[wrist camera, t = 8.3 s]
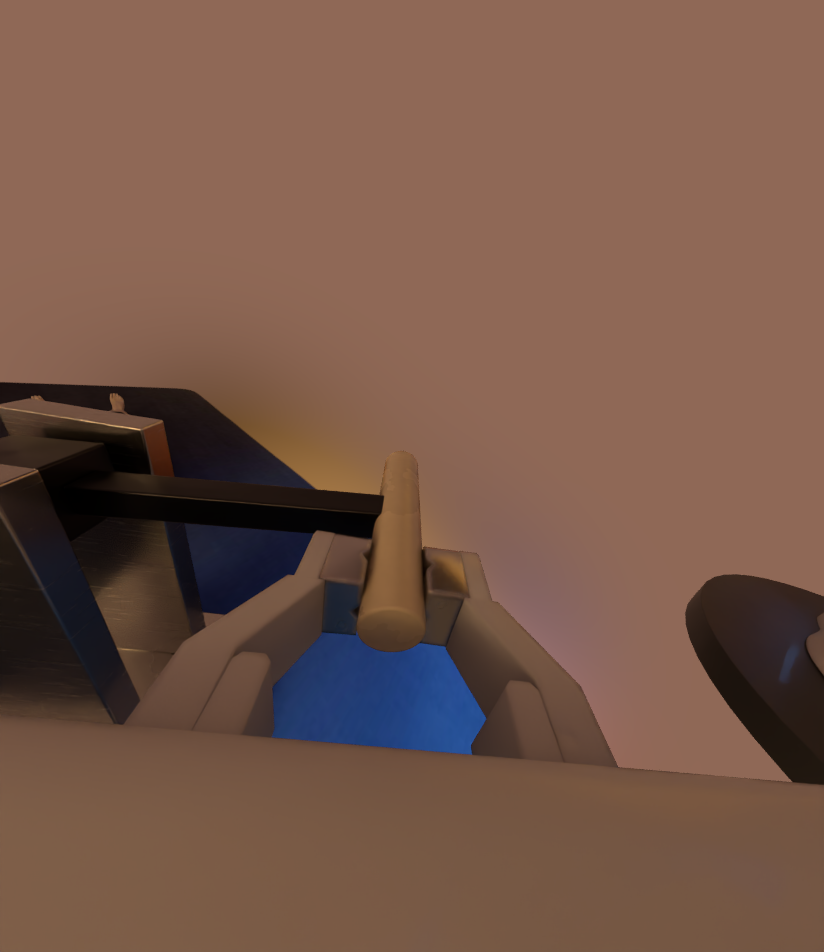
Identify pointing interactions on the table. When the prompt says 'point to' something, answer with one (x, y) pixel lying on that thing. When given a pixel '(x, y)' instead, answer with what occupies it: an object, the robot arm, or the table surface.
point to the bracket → (88, 579)
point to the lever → (253, 518)
